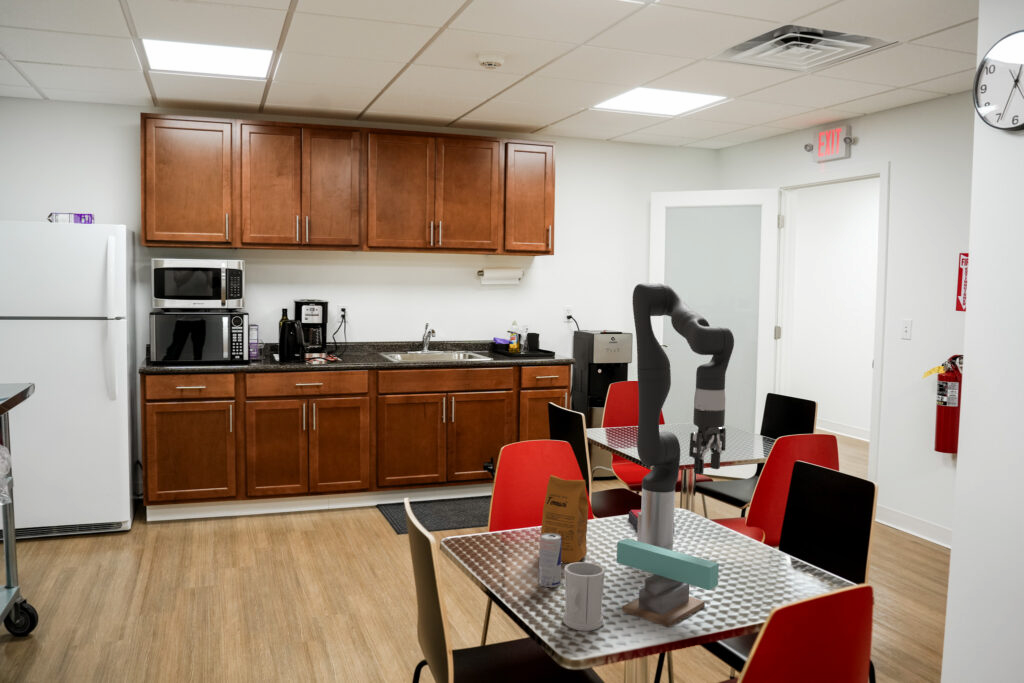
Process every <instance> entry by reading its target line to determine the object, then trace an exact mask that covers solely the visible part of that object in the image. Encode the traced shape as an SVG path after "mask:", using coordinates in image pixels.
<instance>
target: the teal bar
mask: <svg viewBox="0 0 1024 683" xmlns="http://www.w3.org/2000/svg"><path fill="white" fill-rule="evenodd" d="M616 544H617V545H616V563H617V564H620V565H623V566H627V567H629V568H634V569H637V570H639V571H644V572H646V573H649V574H652V575H654V574H656V575H659V576H663V577H666V578H669V579H673V580H676V581H679V582H683V583H686V584H689V586H692V587H693V586H694V587H696V588H701V589H703V590H706V591H711V590H712V589H715V588H716V587H718V586H719V570H720V569H719V567H720V566H719V562H715V561H713V560H710V559H705V558H702V557H701V558H700V557H697V556H694V555H690V554H687V553H683V552H680V551H675V550H668V549H664V548H661V547H657V546H653V545H650V544H646V543H642V542H639V541H637V540H635V539H631V538H624V539H621V540H619V541H617V542H616Z"/></svg>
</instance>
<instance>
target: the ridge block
mask: <svg viewBox="0 0 1024 683" xmlns="http://www.w3.org/2000/svg"><path fill="white" fill-rule="evenodd" d="M705 604H706V602H705V601H704V600H701V599H698V598H696V597H692V596H690V585H689V584H686V583H683V582H679V581H676V580H673V579H669V578H666V577H663V576H659V575H656V574H652V575H650V576H648V577H645V579H644V587H642V588H640V589H638V598H636V599H633V600H632V601H630V602H627V603H626V604H624V605H622V606H621V607H622V608H621V609H622V610H621V611H622V612H623V613H626V614H629V615H632V616H634V617H638V618H641V619H643V620H646V621H648V622H649V621H650V622H653V623H654V624H655V623H656V624H658V625H660V626H664V627H667V628H670V627H672V626H673V625H675V624H677V623H678V622H681V621H682V620H684V619H686V618H687V617H689V616H691V615H693V614H695V613H696V612H698V611H699V610H701V609H703V608H704V607H705ZM692 613H693V614H692ZM690 614H691V615H690ZM680 620H681V621H680Z"/></svg>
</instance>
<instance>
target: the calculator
mask: <svg viewBox="0 0 1024 683" xmlns="http://www.w3.org/2000/svg"><path fill="white" fill-rule="evenodd" d="M639 513H641V509H630V511H628V521H629V523H631V525H632V524H633V525H632V526H633V527H634V528H635V530H636V532H637V531H638V514H639Z"/></svg>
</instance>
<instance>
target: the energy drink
mask: <svg viewBox="0 0 1024 683" xmlns="http://www.w3.org/2000/svg"><path fill="white" fill-rule="evenodd" d="M561 549H562V539H561V536H560V535H558V534H554V533H545V534H542V535H541V534H540V538H539V557H538V558H539V559H538V560H539V562H538V563H539V565H538V566H539V567H538V583H539V585H540V586H541V587H543V586H544V587H543V588H547V587H550V588H549V589H553V588H552V587H554V588H558V587H559V586H560V585H561V583H562V582H561V581H562V577H561V576H562V575H561V574H562V572H561V571H562V563H561ZM557 586H558V587H557Z"/></svg>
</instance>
